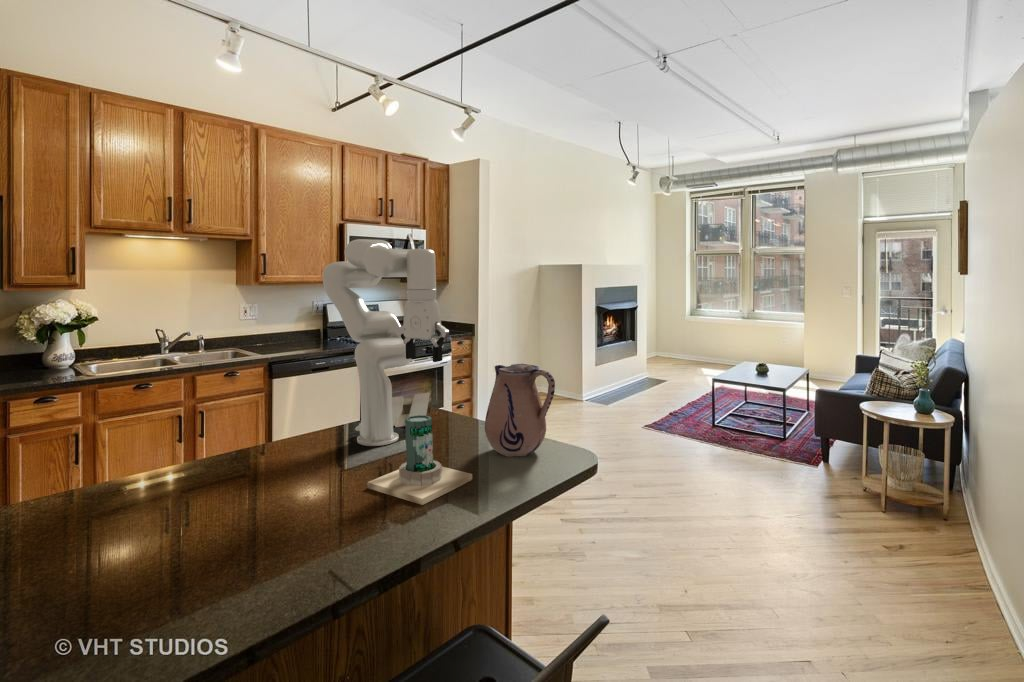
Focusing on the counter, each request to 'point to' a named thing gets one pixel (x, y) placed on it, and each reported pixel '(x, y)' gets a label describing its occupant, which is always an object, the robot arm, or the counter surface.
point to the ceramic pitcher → (517, 410)
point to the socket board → (420, 491)
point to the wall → (409, 407)
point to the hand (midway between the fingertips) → (424, 359)
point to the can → (419, 443)
